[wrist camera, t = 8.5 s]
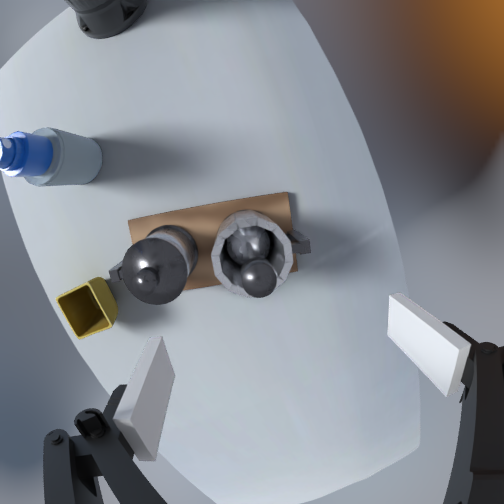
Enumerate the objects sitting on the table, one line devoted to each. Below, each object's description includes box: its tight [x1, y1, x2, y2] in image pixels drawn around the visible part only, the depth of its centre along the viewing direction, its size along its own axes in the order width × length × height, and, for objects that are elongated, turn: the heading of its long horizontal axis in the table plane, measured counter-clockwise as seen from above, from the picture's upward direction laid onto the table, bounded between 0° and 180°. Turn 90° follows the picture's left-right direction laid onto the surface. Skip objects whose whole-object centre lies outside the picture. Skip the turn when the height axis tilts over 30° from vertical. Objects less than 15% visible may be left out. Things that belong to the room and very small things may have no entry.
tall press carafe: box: [211, 209, 311, 297], centre depth 43 cm, size 10×13×13 cm
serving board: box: [128, 192, 298, 290], centre depth 50 cm, size 14×28×2 cm, turn 99°
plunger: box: [227, 226, 277, 298], centre depth 37 cm, size 7×7×19 cm
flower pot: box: [56, 277, 118, 339], centre depth 47 cm, size 9×9×9 cm
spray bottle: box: [0, 127, 102, 187], centre depth 33 cm, size 9×9×25 cm
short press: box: [109, 225, 198, 305], centre depth 41 cm, size 10×13×16 cm
